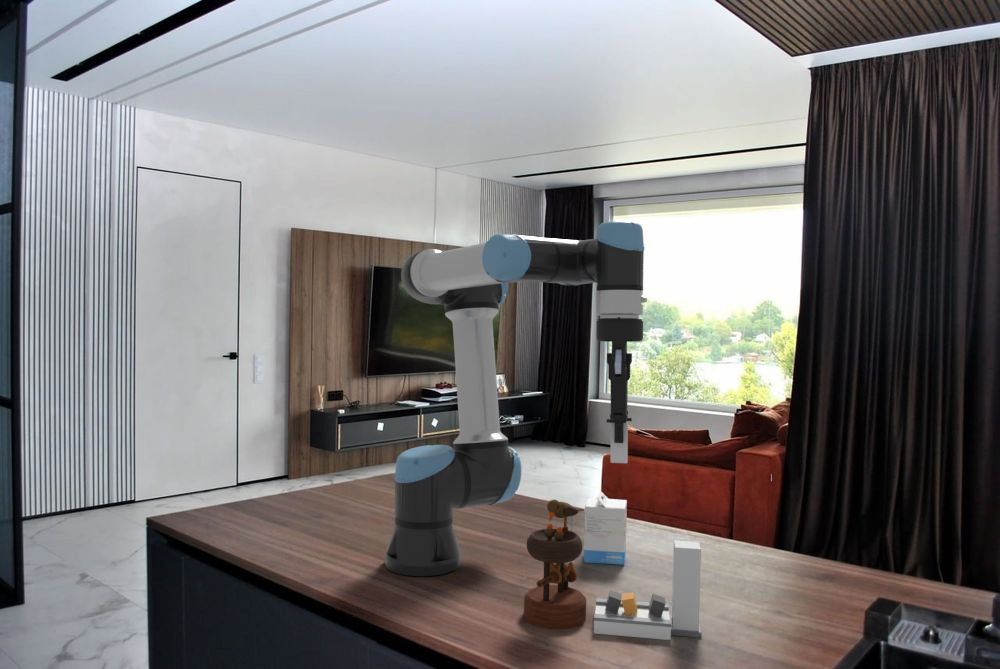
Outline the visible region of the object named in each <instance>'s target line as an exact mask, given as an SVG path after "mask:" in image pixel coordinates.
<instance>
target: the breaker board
mask: <svg viewBox="0 0 1000 669" xmlns="http://www.w3.org/2000/svg"><path fill="white" fill-rule="evenodd" d="M606 602H607V598H601V597H597V598H596V600H595V612H594V616H593V617H594V618H593V634H596V635H597V634H598V635H608V636H619V637H631V638H632V637H633V638H640V639H643V638H644V639H652V640H653V639H655V640H662V641H663V640H665V641H671V638H672V635H671V620H670V618H671V617H670V610H669V609H670V606H669V603H665V607H664V610H663V613H662V616H661V618H660V617H657V616H654V615H652V614H649V604H650V602H649V601H637V600H636V603H637V612H638V613H633V614H627V615H625V611H624V607H623V603H622V599H621V603H620V607H619V610H618V613H617V614H615V613H613V612H610V611H607V610H605V608H606Z"/></svg>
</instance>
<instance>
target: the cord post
mask: <svg viewBox="0 0 1000 669" xmlns="http://www.w3.org/2000/svg"><path fill="white" fill-rule="evenodd" d="M672 559H673V560H672V562H673V563H672V596H671V597H672V598H671V599H672V600H671V601H672V602H671V603H672V605H671V617H670V620H671V636H680V637H688V638H689V637H691V638H702V636H703V635H702V634H703V633H702V628H701V624H700V607H701V606H700V604H701V603H700V600H701V599H700V598H701V596H700V595H701V564H702V563H701V561H702V547H701V544H700V541H691V540H688V541H687V540H675V539H674V540H673V558H672Z"/></svg>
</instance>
